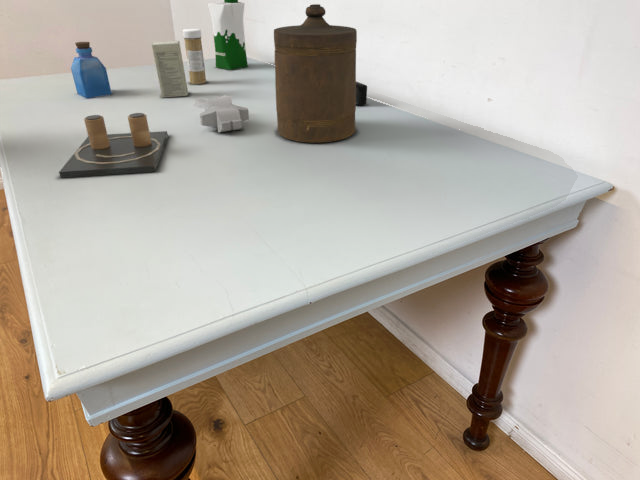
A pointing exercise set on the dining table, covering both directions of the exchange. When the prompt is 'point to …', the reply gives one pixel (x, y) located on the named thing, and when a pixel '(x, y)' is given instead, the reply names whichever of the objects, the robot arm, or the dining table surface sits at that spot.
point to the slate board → (115, 157)
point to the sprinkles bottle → (194, 55)
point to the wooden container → (315, 79)
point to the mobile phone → (361, 93)
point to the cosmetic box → (170, 68)
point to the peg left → (97, 132)
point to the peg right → (139, 129)
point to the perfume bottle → (89, 73)
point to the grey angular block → (221, 113)
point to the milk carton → (228, 34)
